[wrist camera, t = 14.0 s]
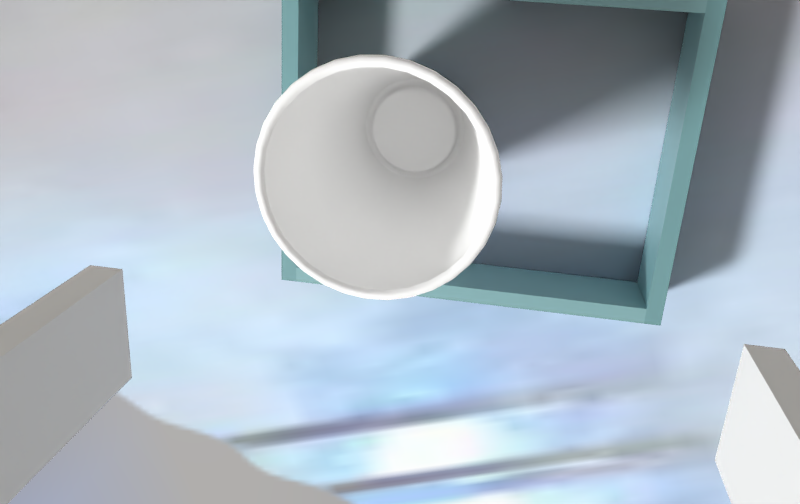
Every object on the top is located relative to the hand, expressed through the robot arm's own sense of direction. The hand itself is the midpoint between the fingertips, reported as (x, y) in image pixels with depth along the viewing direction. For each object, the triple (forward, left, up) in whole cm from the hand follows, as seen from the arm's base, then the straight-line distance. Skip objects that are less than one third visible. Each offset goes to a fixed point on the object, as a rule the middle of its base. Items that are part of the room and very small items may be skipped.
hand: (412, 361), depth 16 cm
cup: (0, -4, -25) cm, 25 cm away
